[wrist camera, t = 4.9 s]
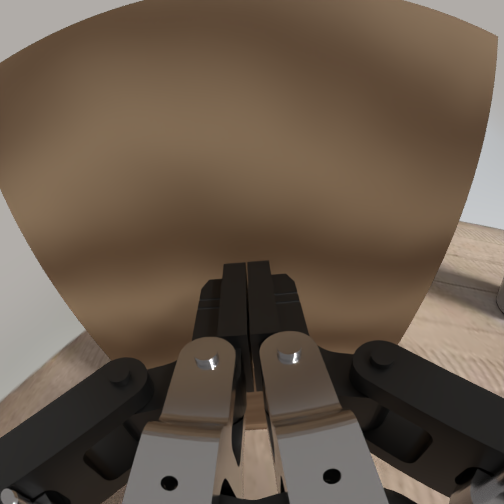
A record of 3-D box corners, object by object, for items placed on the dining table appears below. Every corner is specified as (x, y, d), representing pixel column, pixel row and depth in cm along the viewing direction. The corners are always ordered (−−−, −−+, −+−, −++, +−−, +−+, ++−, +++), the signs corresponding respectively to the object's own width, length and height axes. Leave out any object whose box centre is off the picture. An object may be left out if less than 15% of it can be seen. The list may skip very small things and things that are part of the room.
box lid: (391, 335, 18) (395, 347, 17) (121, 356, 18) (119, 368, 17) (479, 32, 6) (497, 36, 5) (-17, 78, 6) (-34, 86, 5)
